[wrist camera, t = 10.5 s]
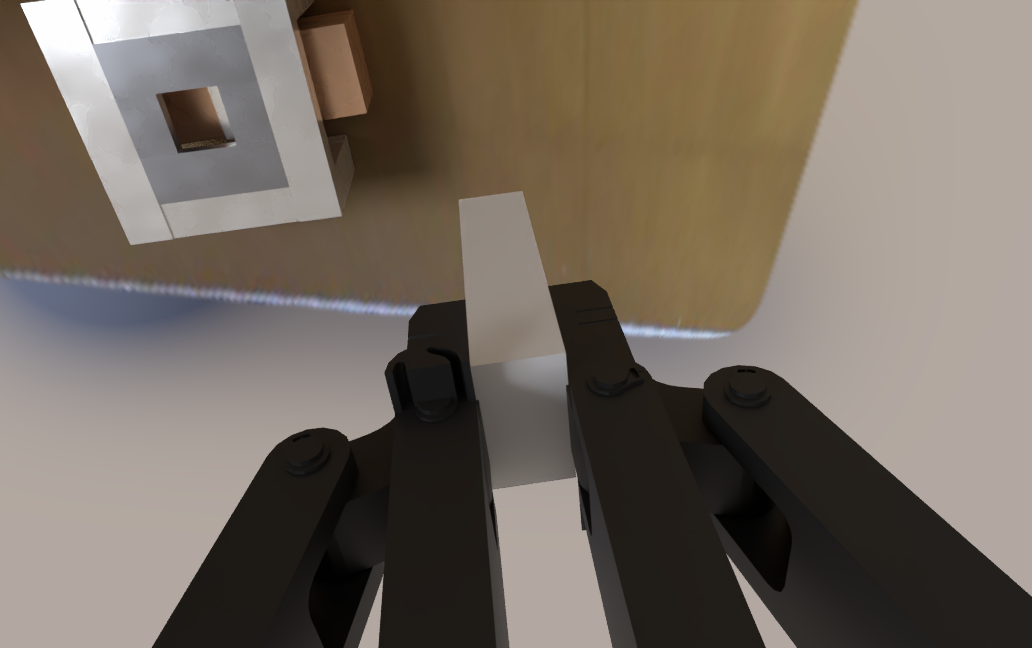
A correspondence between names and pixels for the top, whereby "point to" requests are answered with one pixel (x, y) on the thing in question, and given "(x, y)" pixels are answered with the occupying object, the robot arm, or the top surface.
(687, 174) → the top surface
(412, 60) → the top surface
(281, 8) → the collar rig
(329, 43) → the banded cardboard box
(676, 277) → the top surface
